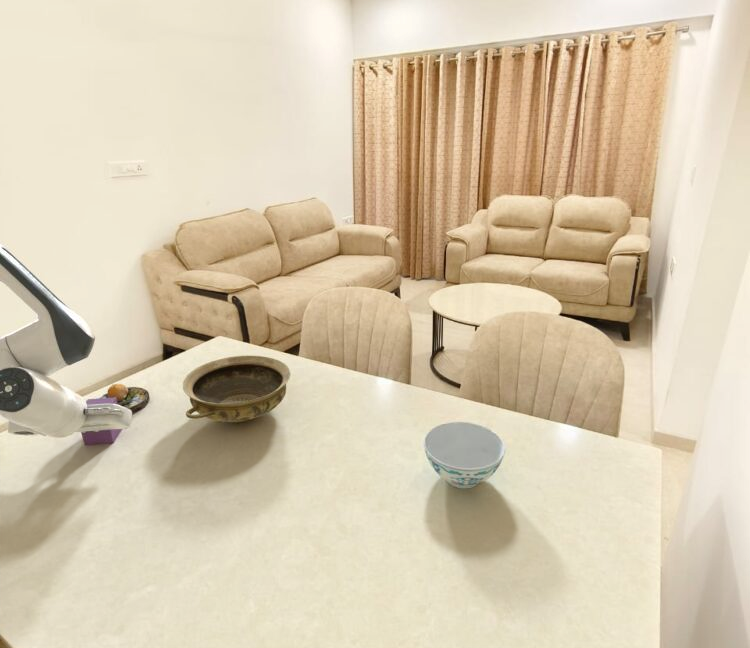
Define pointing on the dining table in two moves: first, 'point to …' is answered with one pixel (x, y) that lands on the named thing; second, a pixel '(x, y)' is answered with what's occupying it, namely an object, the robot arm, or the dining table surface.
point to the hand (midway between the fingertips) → (92, 428)
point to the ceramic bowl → (236, 388)
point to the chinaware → (463, 452)
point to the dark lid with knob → (128, 396)
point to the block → (101, 435)
